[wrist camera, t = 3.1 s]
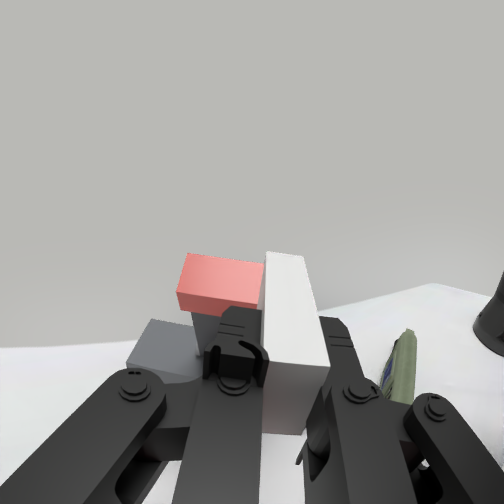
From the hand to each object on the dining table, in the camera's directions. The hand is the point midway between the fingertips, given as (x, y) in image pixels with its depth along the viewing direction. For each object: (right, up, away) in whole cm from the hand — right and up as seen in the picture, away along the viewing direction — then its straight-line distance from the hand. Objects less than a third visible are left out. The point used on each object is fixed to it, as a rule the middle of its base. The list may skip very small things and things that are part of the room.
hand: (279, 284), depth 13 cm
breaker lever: (-3, -9, +17) cm, 20 cm away
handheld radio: (+16, -18, +20) cm, 32 cm away
